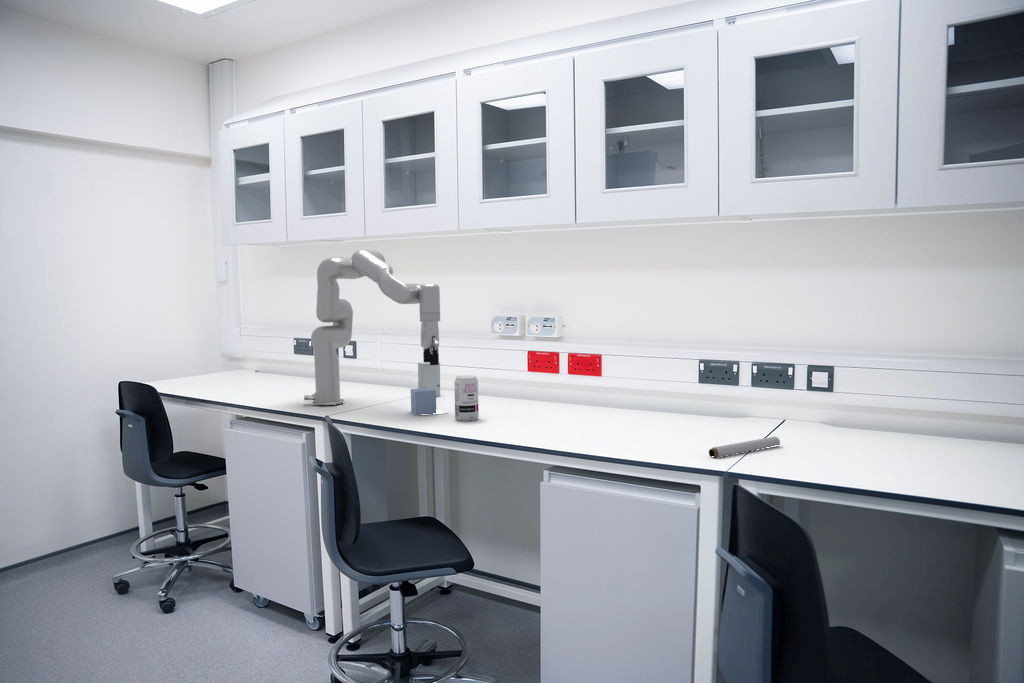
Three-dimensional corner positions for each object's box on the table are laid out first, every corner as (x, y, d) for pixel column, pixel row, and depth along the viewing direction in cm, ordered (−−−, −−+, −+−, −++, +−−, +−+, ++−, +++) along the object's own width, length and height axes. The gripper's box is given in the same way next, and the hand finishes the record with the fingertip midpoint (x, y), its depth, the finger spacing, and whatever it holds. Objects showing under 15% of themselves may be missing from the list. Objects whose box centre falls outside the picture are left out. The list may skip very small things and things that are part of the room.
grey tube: (716, 460, 175) (780, 448, 187) (716, 449, 175) (780, 437, 187) (707, 458, 178) (771, 446, 190) (707, 446, 178) (771, 435, 190)
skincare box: (422, 398, 279) (421, 363, 278) (417, 396, 284) (416, 362, 283) (441, 396, 283) (440, 362, 281) (436, 394, 288) (435, 360, 287)
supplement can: (465, 416, 239) (464, 374, 238) (483, 418, 234) (482, 376, 233) (450, 419, 232) (449, 377, 231) (468, 422, 227) (468, 379, 226)
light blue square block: (415, 415, 241) (415, 391, 240) (411, 412, 248) (410, 388, 247) (436, 413, 243) (435, 390, 243) (431, 410, 251) (430, 387, 250)
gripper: (414, 317, 251) (415, 361, 252) (425, 318, 235) (426, 366, 236) (434, 316, 254) (435, 360, 255) (446, 318, 237) (447, 365, 239)
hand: (431, 363), depth 245 cm, fingers open, 9 cm apart
